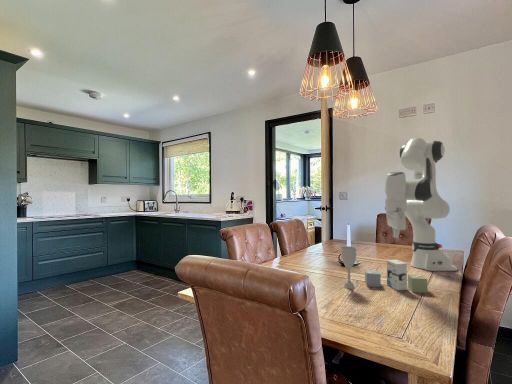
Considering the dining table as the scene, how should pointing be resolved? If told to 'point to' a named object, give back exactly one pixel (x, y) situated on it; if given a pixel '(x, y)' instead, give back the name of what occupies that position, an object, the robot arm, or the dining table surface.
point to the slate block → (372, 278)
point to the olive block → (417, 283)
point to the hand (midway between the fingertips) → (396, 237)
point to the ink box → (397, 274)
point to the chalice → (348, 263)
